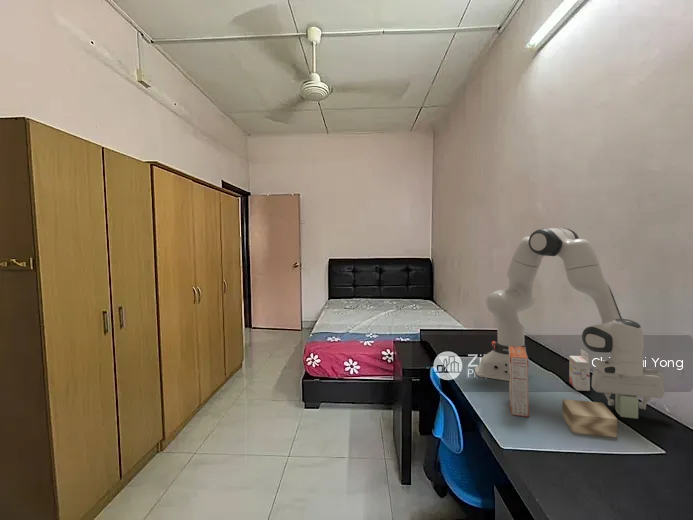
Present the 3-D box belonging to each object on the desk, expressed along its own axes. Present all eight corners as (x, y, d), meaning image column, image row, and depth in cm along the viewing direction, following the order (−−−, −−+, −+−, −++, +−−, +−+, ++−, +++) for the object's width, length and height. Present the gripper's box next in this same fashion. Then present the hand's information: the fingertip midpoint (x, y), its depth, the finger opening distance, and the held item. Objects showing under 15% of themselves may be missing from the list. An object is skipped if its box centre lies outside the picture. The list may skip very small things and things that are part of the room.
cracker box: (508, 399, 143) (508, 345, 142) (525, 401, 141) (525, 346, 140) (510, 415, 130) (509, 356, 129) (529, 417, 128) (529, 357, 127)
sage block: (620, 416, 127) (620, 396, 127) (615, 410, 132) (615, 390, 131) (638, 418, 125) (638, 398, 125) (632, 412, 130) (632, 392, 130)
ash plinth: (572, 433, 118) (572, 414, 117) (562, 416, 129) (562, 399, 129) (617, 438, 114) (617, 418, 114) (602, 420, 126) (602, 402, 125)
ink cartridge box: (568, 382, 158) (568, 348, 157) (581, 383, 157) (581, 348, 156) (576, 390, 150) (576, 354, 149) (590, 391, 149) (590, 354, 148)
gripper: (659, 366, 127) (659, 406, 128) (590, 361, 134) (589, 399, 135) (668, 373, 121) (668, 414, 122) (595, 367, 128) (595, 407, 129)
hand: (626, 406), depth 128 cm, fingers open, 8 cm apart
